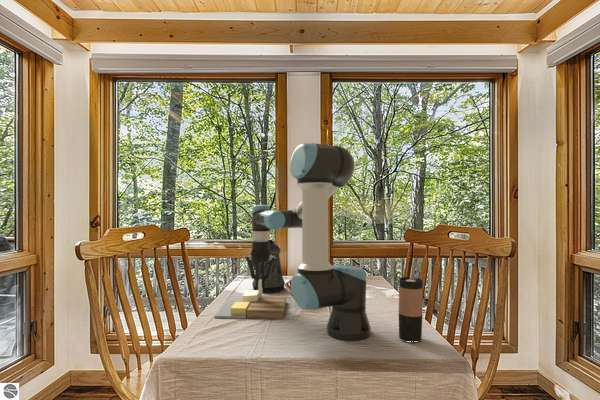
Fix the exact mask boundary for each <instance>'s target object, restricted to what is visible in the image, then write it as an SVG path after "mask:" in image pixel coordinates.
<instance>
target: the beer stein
mask: <svg viewBox="0 0 600 400" xmlns="http://www.w3.org/2000/svg"><path fill="white" fill-rule="evenodd" d="M268 241H269V242H270V247H269V250H270V253H271V255H272V256H275V260H274V261H273V264H272V268H271V272H270V276H269V278H268V279H266V280H265V287H264V288H262V294H276V292H277V293H281V292H283V291H282V290H285V284H286V283H285V280H284V276H283V272H282V267H281V266H282V265H281V259H280V257H281V255H280V254H281V250H282V249H281V247H279V245H277V244H276V243H275V242H274V240H273V239H269V240H268ZM251 252H252V250H251ZM251 252H250V254H249V255H251ZM251 261H252V265H253V269H254V273H255V276H256V261H255V260H254V259H253V257H252V260H251ZM269 263H270V257H269V258H268V259H267V260H266V262H265V276H266V275H267V271H268V267H269ZM259 279H262V262H260V264H259ZM252 280H253V281H252V289H253V290H258V288H256V280H255V279H252ZM280 291H281V292H280Z"/></svg>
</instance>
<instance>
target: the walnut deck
mask: <svg viewBox="0 0 600 400" xmlns="http://www.w3.org/2000/svg"><path fill="white" fill-rule="evenodd" d="M286 306H287V295H262V296H260V297H259V299H258V301H252V302H251V304H250V305H249V307H248V309H247V317H246V319H283V318H284V314H285V309H286Z"/></svg>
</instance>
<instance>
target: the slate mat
mask: <svg viewBox="0 0 600 400" xmlns="http://www.w3.org/2000/svg"><path fill="white" fill-rule="evenodd" d="M235 302H243V299H239V298H237V299H235V298H234V299H233V298H232V299H231V298H230V299H229V298H228V299H227V300H226V301H225V303H223V305H222V306H221V307H220V309H219V310H218V311H217V312H216V313H215V315H214V319H235V320H237V319H241V320H242V319H244V320H245V319H247V314H246V315H231V307H232V306H233V304H234V303H235ZM250 304H251V302H250Z"/></svg>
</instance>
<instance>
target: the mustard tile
mask: <svg viewBox="0 0 600 400" xmlns="http://www.w3.org/2000/svg"><path fill="white" fill-rule="evenodd" d="M249 305H250V302H235V303H234V304H233V306H232V307H231V315H246V314H247V309H248V307H249Z"/></svg>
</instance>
